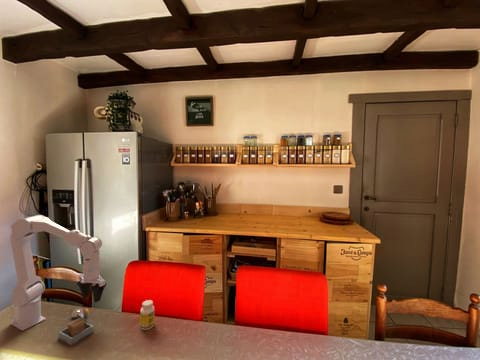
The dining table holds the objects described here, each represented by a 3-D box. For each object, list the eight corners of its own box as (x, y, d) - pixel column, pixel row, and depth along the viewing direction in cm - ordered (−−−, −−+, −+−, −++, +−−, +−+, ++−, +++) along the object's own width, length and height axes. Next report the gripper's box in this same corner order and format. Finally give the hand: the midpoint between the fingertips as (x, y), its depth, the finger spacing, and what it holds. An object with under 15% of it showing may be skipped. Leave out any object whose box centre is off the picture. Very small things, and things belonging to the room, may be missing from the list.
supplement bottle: (149, 331, 92) (149, 307, 92) (137, 329, 93) (137, 305, 93) (156, 322, 97) (157, 299, 97) (145, 320, 98) (145, 298, 98)
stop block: (67, 335, 88) (67, 323, 88) (79, 328, 92) (79, 317, 92) (73, 338, 86) (72, 327, 86) (84, 332, 90) (84, 321, 90)
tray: (58, 338, 87) (58, 332, 87) (80, 325, 95) (80, 319, 94) (71, 345, 84) (71, 338, 84) (93, 332, 91) (93, 325, 91)
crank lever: (70, 315, 101) (70, 303, 100) (81, 311, 104) (81, 299, 104) (82, 326, 94) (82, 313, 94) (93, 321, 97) (93, 308, 97)
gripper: (70, 267, 97) (71, 299, 97) (92, 274, 91) (93, 308, 91) (88, 261, 103) (88, 291, 104) (109, 267, 97) (109, 299, 98)
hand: (91, 298), depth 98 cm, fingers open, 7 cm apart
